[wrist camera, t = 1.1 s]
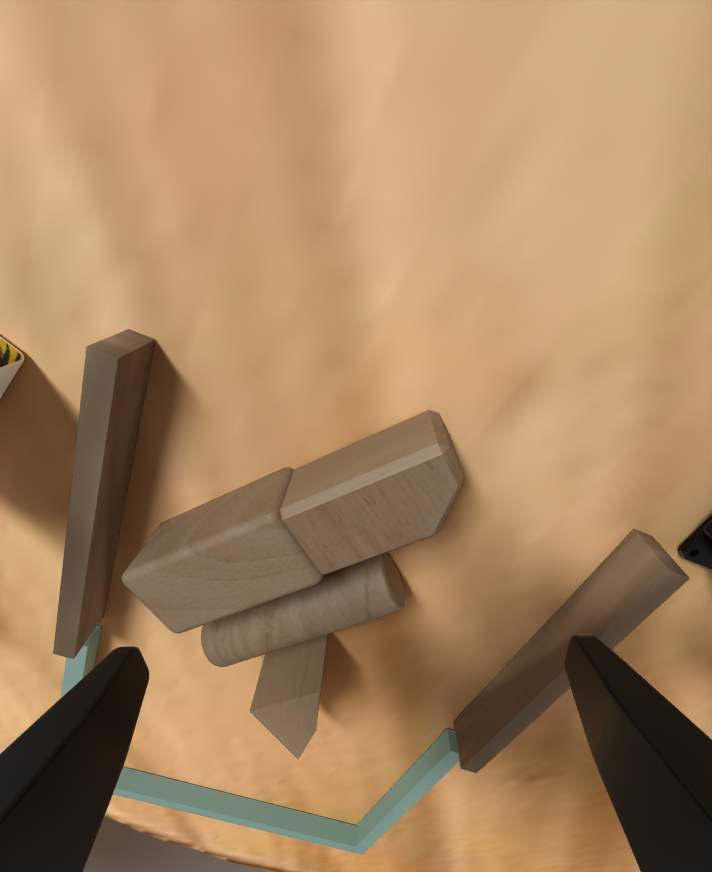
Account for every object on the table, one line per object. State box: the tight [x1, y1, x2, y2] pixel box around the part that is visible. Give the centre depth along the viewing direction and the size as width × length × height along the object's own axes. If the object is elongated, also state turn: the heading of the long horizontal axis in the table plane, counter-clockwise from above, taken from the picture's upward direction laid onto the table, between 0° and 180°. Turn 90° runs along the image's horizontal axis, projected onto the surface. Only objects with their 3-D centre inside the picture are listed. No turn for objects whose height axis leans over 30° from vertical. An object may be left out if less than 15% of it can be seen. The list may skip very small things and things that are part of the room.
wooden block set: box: [121, 410, 463, 759], centre depth 23 cm, size 17×6×18 cm
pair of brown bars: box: [53, 329, 690, 773], centre depth 23 cm, size 28×20×3 cm
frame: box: [61, 625, 460, 855], centre depth 33 cm, size 28×19×2 cm
